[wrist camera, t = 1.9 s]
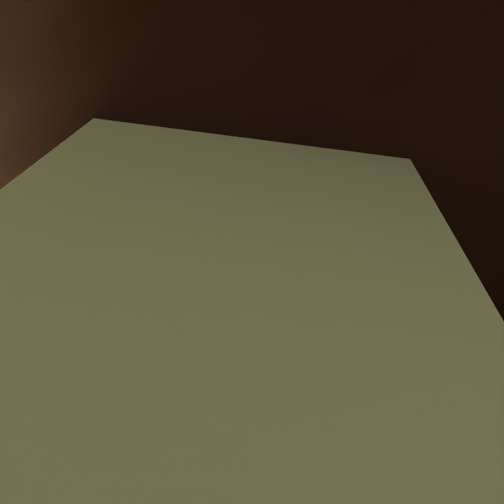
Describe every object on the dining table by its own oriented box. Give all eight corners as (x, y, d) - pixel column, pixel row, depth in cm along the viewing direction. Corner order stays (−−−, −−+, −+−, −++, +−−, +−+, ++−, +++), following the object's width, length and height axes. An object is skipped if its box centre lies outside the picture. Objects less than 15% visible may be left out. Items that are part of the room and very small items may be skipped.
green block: (408, 156, 7) (666, 605, 2) (310, 480, 12) (320, 852, 7) (96, 116, 7) (-355, 460, 2) (123, 454, 12) (0, 804, 7)
